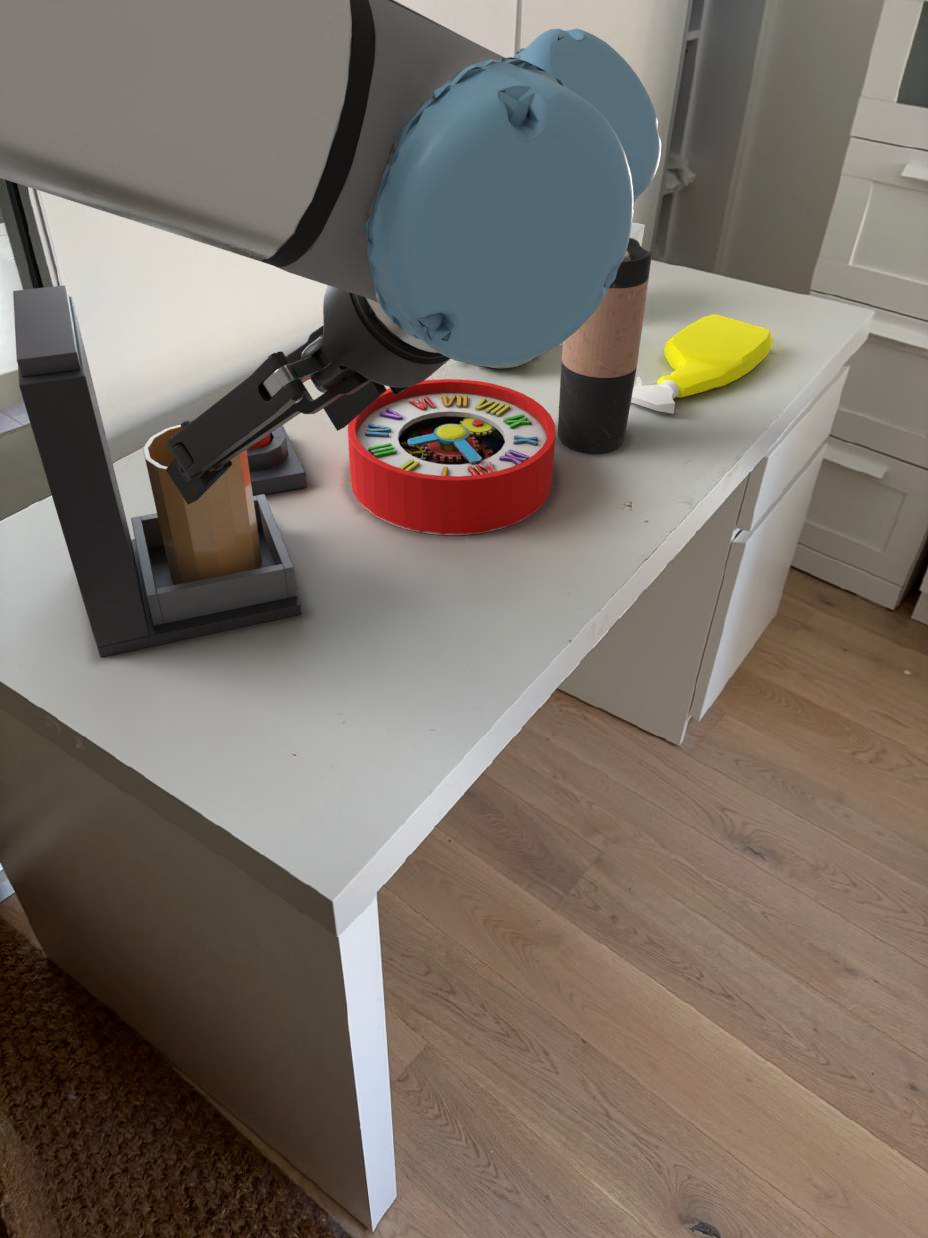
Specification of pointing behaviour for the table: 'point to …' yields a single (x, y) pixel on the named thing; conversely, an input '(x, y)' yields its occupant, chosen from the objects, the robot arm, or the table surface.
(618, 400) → the travel mug
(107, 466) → the coffee maker
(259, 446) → the button
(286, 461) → the switch block
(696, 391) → the spray bottle
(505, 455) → the toy clock
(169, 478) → the cup
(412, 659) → the table surface
